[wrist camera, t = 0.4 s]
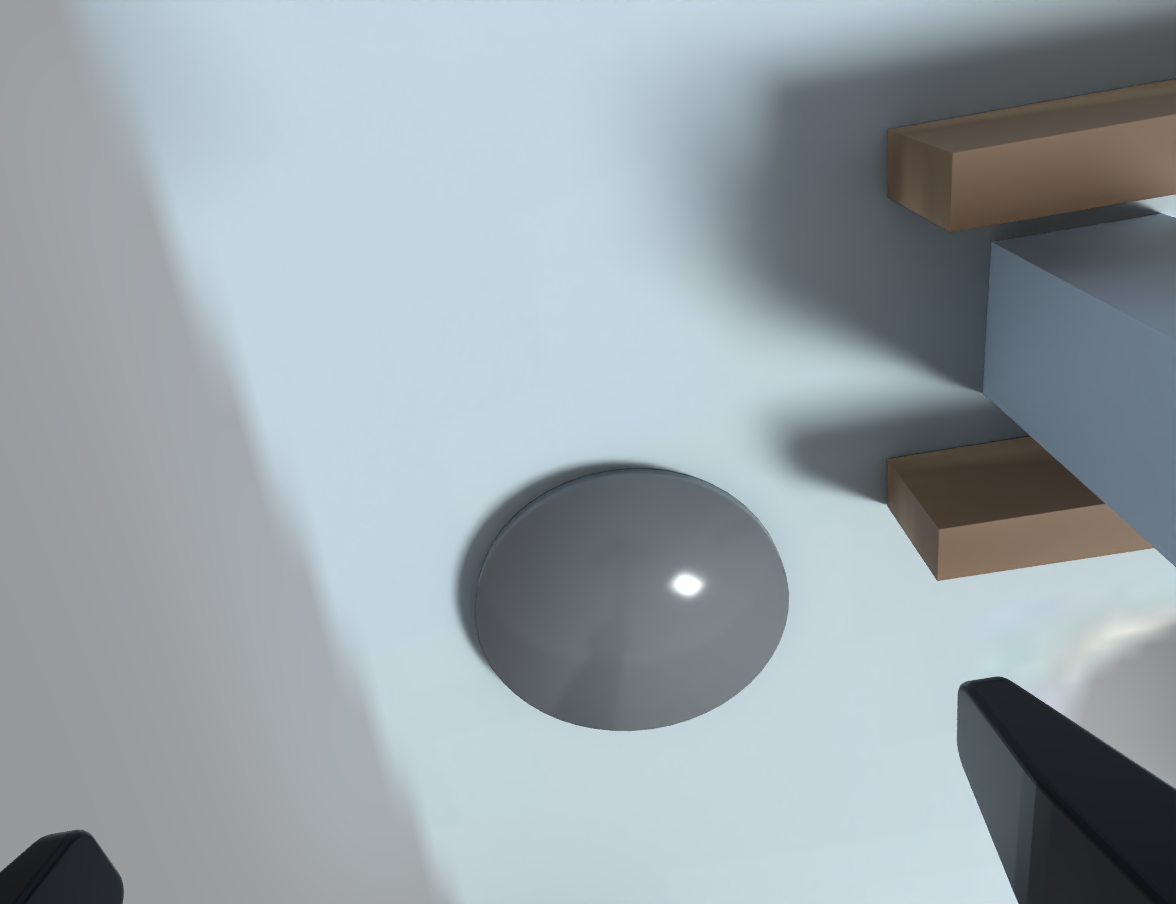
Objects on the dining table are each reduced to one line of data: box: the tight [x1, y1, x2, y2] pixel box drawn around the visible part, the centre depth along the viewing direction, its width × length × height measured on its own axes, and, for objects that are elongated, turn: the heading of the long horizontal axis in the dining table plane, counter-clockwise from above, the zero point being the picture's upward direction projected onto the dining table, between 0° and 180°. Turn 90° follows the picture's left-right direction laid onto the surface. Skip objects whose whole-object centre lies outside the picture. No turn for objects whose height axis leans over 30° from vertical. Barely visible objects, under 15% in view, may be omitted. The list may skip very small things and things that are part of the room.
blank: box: [983, 213, 1176, 567], centre depth 18 cm, size 4×4×8 cm
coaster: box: [475, 469, 789, 731], centre depth 25 cm, size 9×9×1 cm
